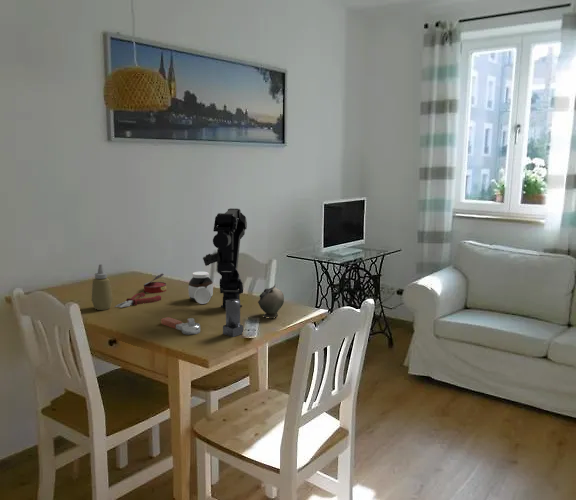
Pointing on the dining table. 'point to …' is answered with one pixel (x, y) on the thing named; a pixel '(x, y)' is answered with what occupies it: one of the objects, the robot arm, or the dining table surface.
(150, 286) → the canned food
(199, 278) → the spread jar
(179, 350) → the dining table surface
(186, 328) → the ratchet
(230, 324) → the socket
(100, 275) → the squeeze bottle
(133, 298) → the pliers
